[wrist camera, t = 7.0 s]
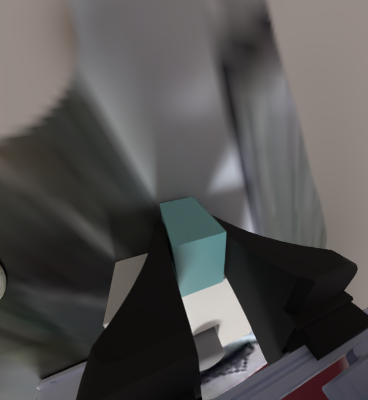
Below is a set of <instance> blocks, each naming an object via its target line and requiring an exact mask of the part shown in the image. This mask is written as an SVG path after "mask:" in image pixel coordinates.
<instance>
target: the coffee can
mask: <svg viewBox="0 0 368 400" xmlns="http://www.w3.org/2000/svg"><path fill="white" fill-rule="evenodd" d="M5 290H6V276H5V273H4V270H3V268H2V266H1V265H0V299H1V298H2V296H3V295H4V293H5Z"/></svg>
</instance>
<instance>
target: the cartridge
mask: <svg viewBox="0 0 368 400" xmlns="http://www.w3.org/2000/svg"><path fill="white" fill-rule="evenodd" d="M159 205H160V210H161V215H162V221H163V223H164V225H165V228H166V232H167V238H168V244H169V249H170V255H171V261H172V265H173V269H174V272H175V276H176V280H177V283H178V286H179V290H180V293H181V297H184V296H187V295H190V294H192V293H195V292H197V291H200V290H203V289H205V288H208V287H211V286H213V285H216V284H218V283H221V282H223V276H224V262H225V247H226V231H225V230H224V228H223V227H222V226H221V225H220V224H219V223H218V222H217V221H216V220H215V219H214V218H213V217H212V216H211V215H210V214H209V213H208V212H207V210H206V209H205V208H204V207H203V206H202V205H201V204H200V203H199V202H198V201H197V200H196V199H195V198H194V197H188V198H183V199H178V200H173V201H168V202H164V203H159Z"/></svg>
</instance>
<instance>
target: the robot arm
mask: <svg viewBox="0 0 368 400" xmlns="http://www.w3.org/2000/svg"><path fill="white" fill-rule="evenodd" d="M211 216H212V215H211ZM212 217H213V218H214V219H215V220H216V221H217V222H218V223H219V224H220V225H221V226H222V227H223V228H224V230H225V231H226V247H225V262H224V275H225V277H226V278H227V280H228V282H229V284H230V286H231V288H232V290H233V292H234V294H235V296H236V298H237V300H238V302H239V303H240V305H241V308H242V310H243V312H244V314H245V316H246V318H247V320H248V322H249V324H250V326H251V328H252V331H253V333H254V335H255V337H256V339H257V342H258V344H259V346H260V348H261V350H262V353H263V355H264V357H265V359H266V361H267V363H268V364H269V366H268V367H267V368H265V369H263V370H262V371H260V372H258V373H257V374H255V375H253V376H252V377H250V378H248V379H247V380H245V381H243V382H242V383H240V384H238V385H236V386H235V387H233V388H231V389H230V390H228V391H226V392H225V393H223V394H221V395H220V396H218V397H216V398H215V399H213V400H280V399H281V398H283V397H285V396H286V395H287V394H289V393H290V392H292V391H293V390H295V389H296V388H298V387H299V386H301V385H302V384H304V383H305V382H307V381H308V380H310V379H311V378H312V377H314V376H315V375H317V374H318V373H320V372H321V371H322V370H324V369H326V368H327V367H328V366H330V365H331V364H333V363H334V362H336V361H337V360H339V359H340V358H342V357H343V356H345V355H346V359H347V361H348V363H349V367H348V368H347V369H346V370H344V371H343V372H342V373H340V374H339V375H338V376H337V377H335V378H334V379H333V380H331V381H330V382H329V383H327V384H326V385H325V386H323V387H322V388H323V392H324V393H325V394H326V395H327V397H328V399H329V400H368V307H367V308H366V309H364V310H361V309H360V308H359V307H357V306H356V305H355V304H353V303H352V302H351V301H352V300H353V297H352V296H350V295H349V294H348V293H346V292H345V291H344V290H345V289H346V287H347V286H348V284H349V283H350V282H351V280H352V279H353V278H354V276H355V274H356V272H357V265H356V264H355V263H353V262H352V261H350V260H348V259H346V258H345V257H343V256H341V255H340V254H338V253H336V252H334V251H332V250H327V249H321V248H314V247H308V246H302V245H297V244H292V243H287V242H282V241H278V240H274V239H271V238H267V237H263V236H260V235H257V234H254V233H251V232H248V231H246V230H243V229H241V228H238V227H236V226H233V225H231V224H229V223H227V222H225V221H223V220H221V219H219V218H217V217H215V216H212ZM200 385H201V378H200V367H199V357H198V352H197V349H196V345H195V341H194V337H193V334H192V330H191V327H190V323H189V320H188V317H187V313H186V310H185V307H184V303H183V300H182V297H181V293H180V290H179V286H178V283H177V280H176V276H175V272H174V269H173V265H172V261H171V255H170V249H169V244H168V238H167V232H166V228H165V225H164V223H163V224H159V225H156V226H155V229H154V235H153V240H152V243H151V246H150V249H149V252H148V255H147V257H146V260H145V262H144V265H143V267H142V269H141V271H140V273H139V275H138V277H137V279H136V281H135V283H134V284H133V286H132V288H131V290H130V291H129V293H128V295H127V296H126V298H125V300H124V301H123V303H122V304H121V306H120V308H119V309H118V311H117V312H116V314H115V315H114V317H113V318H112V320H111V321H110V322H109V324H108V325H107V327H106V328H105V330H104V331H103V332H102V334H101V335H100V337H99V338H98V340H97V341H96V342H95V344H94V345H93V347H92V349H91V351H90V354H89V357H88V360H87V361H86V362H83V363H81V364H79V365H76V366H74V367H72V368H69V369H67V370H64V371H62V372H60V373H57V374H55V375H53V376H50V377H48V378H46V379H43V380H41V381H40V382H39V383H38V385H37V389H38V390H40V392H39V394H38V397H37V399H36V400H202V396H201V386H200Z"/></svg>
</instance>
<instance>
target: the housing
mask: <svg viewBox="0 0 368 400" xmlns="http://www.w3.org/2000/svg"><path fill="white" fill-rule="evenodd" d="M147 255H148V253H146V254H143V255H139V256H136V257H132V258H129V259H125V260H122V261H118V262H116V263H115V268H114V273H113V278H112V283H111V288H110V293H109V298H108V303H107V308H106V312H105V317H104V322H103V326H104V327H105V328H106V327H107V325H108V324H109V322H110V321H111V320H112V318H113V317H114V315H115V314H116V312H117V311H118V309H119V308H120V306H121V304H122V303H123V301H124V300H125V298H126V296H127V295H128V293H129V291H130V290H131V288H132V286H133V284H134V283H135V281H136V279H137V277H138V275H139V273H140V271H141V269H142V267H143V265H144V262H145V260H146V257H147ZM182 300H183V303H184V307H185V310H186V313H187V317H188V320H189V323H190V327H191V330H192V334H193V336H194V335H196V334H198V333H200V332H202V331H205V330H207V329H209V328H211V327H213V326H214V327H215V330H216V332H217V335H218V337H219V340H220V342H221V345H222V347H223V346H225V345H227V344H229V343H231V342H233V341H235V340H237V339H239V338H241V337H243V336H245V335H247V334H249V333H250V332H251V329H252V328H251V326H250V324H249V322H248V320H247V318H246V316H245V314H244V312H243V310H242V308H241V305H240V303H239V302H238V300H237V298H236V296H235V294H234V292H233V290H232V288H231V286H230V284H229V282H228V280H227V278H226V277H225V275H224V276H223V282H221V283H218V284H216V285H213V286H211V287H208V288H205V289H203V290H200V291H197V292H195V293H192V294H190V295H187V296H184V297H182Z"/></svg>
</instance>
